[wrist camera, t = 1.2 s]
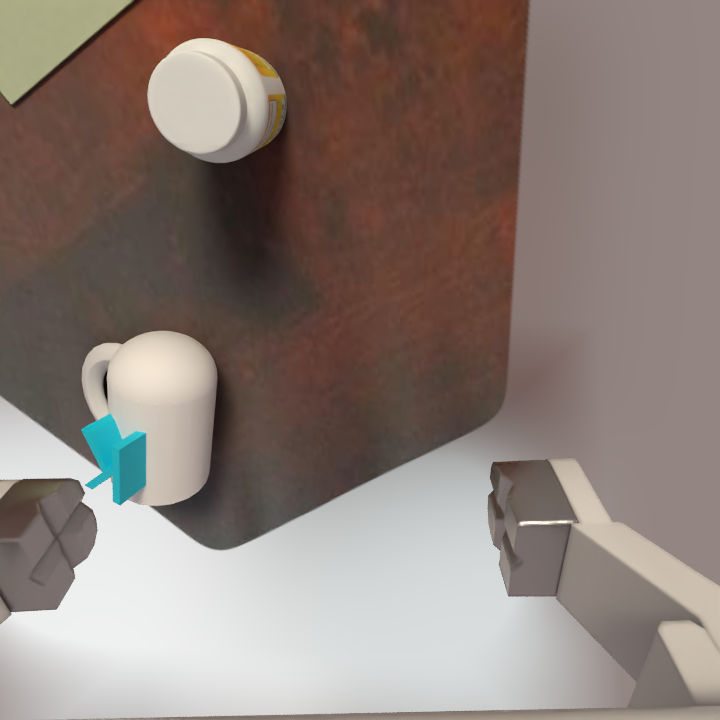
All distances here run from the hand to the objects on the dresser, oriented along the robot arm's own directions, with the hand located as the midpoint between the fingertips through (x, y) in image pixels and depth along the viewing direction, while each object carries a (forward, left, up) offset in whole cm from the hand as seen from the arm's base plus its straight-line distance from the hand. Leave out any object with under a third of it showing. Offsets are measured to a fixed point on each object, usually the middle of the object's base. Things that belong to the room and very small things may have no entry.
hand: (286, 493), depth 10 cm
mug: (+20, +4, -26) cm, 33 cm away
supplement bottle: (+2, -8, -26) cm, 28 cm away
